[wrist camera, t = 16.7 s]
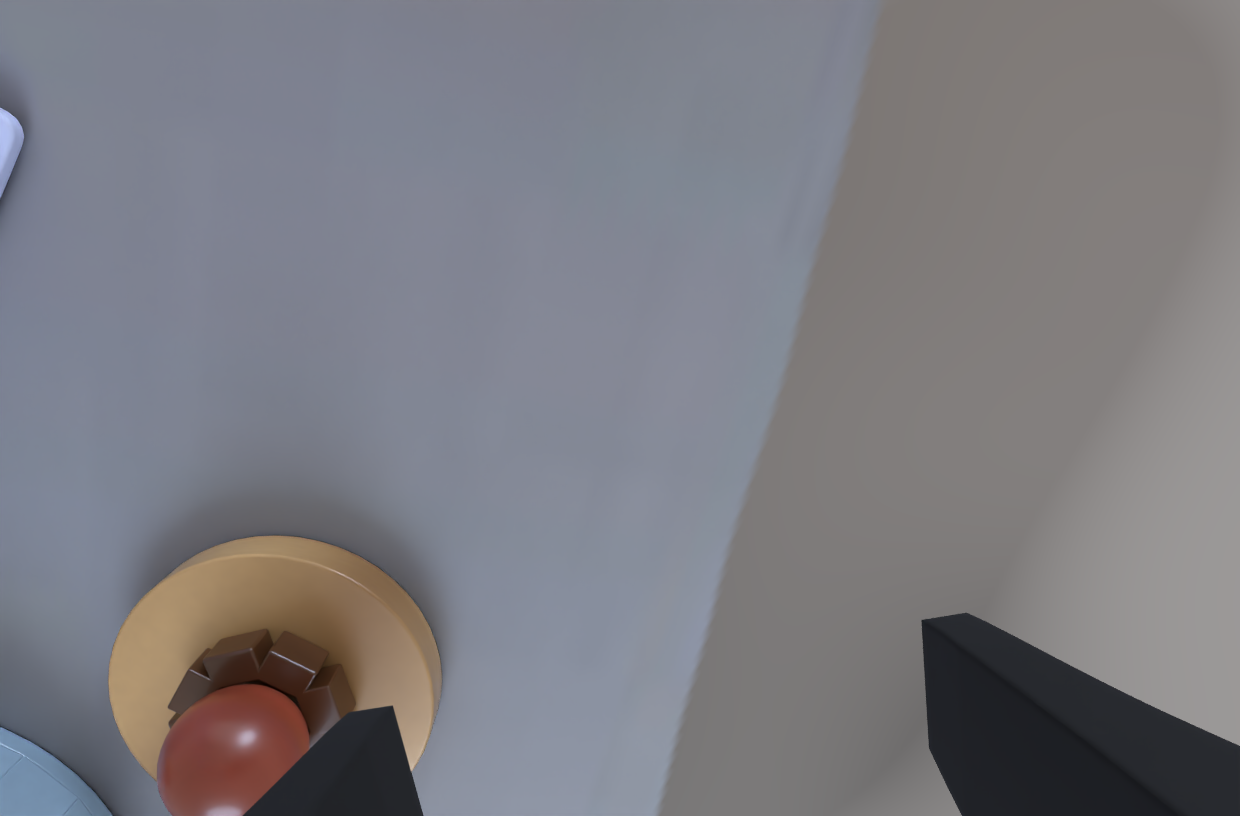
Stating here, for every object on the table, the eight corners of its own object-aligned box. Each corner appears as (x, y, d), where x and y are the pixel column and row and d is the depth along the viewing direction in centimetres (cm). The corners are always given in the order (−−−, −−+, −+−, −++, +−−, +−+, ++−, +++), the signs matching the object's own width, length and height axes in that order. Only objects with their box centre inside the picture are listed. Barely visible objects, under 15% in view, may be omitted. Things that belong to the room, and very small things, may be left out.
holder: (86, 720, 21) (28, 777, 19) (212, 478, 19) (165, 511, 17) (357, 841, 22) (333, 908, 20) (497, 626, 21) (486, 673, 18)
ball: (219, 774, 19) (152, 879, 16) (183, 668, 19) (105, 758, 16) (341, 754, 20) (296, 855, 16) (309, 647, 19) (257, 733, 16)
